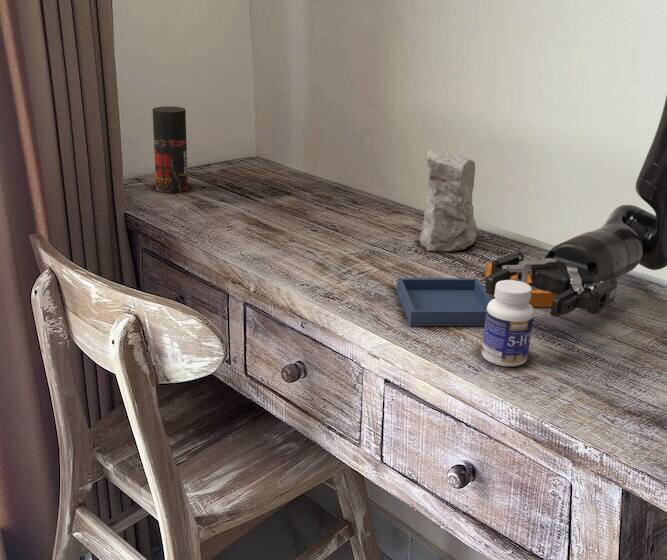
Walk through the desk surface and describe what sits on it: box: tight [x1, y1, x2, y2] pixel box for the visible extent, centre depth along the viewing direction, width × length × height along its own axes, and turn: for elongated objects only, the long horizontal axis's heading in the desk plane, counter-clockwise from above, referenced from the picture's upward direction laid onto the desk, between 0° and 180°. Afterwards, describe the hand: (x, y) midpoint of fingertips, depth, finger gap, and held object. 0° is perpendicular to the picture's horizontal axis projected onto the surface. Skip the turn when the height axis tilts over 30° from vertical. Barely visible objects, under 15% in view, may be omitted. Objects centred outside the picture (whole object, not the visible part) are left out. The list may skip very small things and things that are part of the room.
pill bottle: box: [481, 280, 535, 367], centre depth 92 cm, size 5×5×9 cm
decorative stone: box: [419, 149, 477, 253], centre depth 128 cm, size 10×9×15 cm
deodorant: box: [152, 105, 189, 194], centre depth 152 cm, size 6×6×15 cm
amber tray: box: [484, 262, 558, 308], centre depth 113 cm, size 11×11×2 cm
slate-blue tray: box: [396, 277, 493, 327], centre depth 106 cm, size 11×11×2 cm
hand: (520, 297), depth 93 cm, fingers open, 8 cm apart
